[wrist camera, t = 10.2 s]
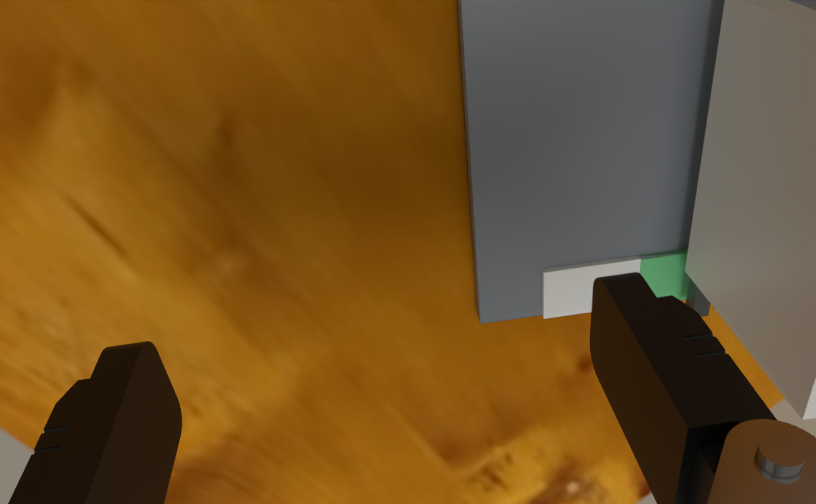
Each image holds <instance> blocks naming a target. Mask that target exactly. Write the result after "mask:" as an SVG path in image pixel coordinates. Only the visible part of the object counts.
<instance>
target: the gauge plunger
mask: <svg viewBox="0 0 816 504" xmlns="http://www.w3.org/2000/svg"><path fill="white" fill-rule="evenodd" d="M685 272H686V273H687V274H688V276H689V277H690V278H689V284H688V291H687V297H686V305H688V306H689V307H691V308H692V309H694V310H695V311H697V312H698V314H699V315H700V316H708V313H709V308H710V303H711V305H712V306H713V307H714V308H715V310H716V311H717V312H718V314H719V315H720V316H721V317H722V319H723V320H724V321H725V322H726V324H727V325H728V326H729V327H730V329H731V330H732V331H733V333H734V334H735V335H736V336H737V338H738V339H739V340H740V341H741V343H742V344H743V345H744V346H745V348H746V349H747V350H748V352H749V353H750V354H751V355H752V357H753V358H754V359H755V360H756V362H757V363H758V364H759V365H760V367H761V368H762V369H763V371H764V372H765V373H766V374H767V376H768V377H769V378H770V379H771V381H772V382H773V383H774V384H775V386H776V387H777V388H778V390H779V391H780V392H781V393H782V395H783V396H784V397H785V398H786V400H787V401H788V402H789V403H790V405H791V406H792V407H793V409H794V410H795V411H796V412H797V414H798V415H799V416H800V417H801V419H802V420H805V419H812V418H816V10H814V9H811V8H808V7H806V6H803V5H800V4H798V3H795V2H792V1H790V0H725V2H724V9H723V16H722V22H721V29H720V36H719V43H718V50H717V56H716V63H715V70H714V77H713V84H712V90H711V97H710V104H709V111H708V117H707V124H706V131H705V138H704V145H703V151H702V158H701V165H700V172H699V178H698V185H697V192H696V199H695V206H694V212H693V219H692V226H691V233H690V239H689V246H688V253H687V260H686V267H685Z"/></svg>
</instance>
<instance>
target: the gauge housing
mask: <svg viewBox="0 0 816 504" xmlns="http://www.w3.org/2000/svg"><path fill="white" fill-rule="evenodd" d="M790 1H792V2H795V3H798V4H800V5H803V6H806V7H808V8H811V9H814V10H816V0H790ZM724 2H725V0H458V16H459V32H460V48H461V64H462V80H463V96H464V112H465V128H466V143H467V159H468V175H469V191H470V207H471V223H472V239H473V255H474V270H475V286H476V302H477V314H478V317H479V320H480V324H482V323H489V322H496V321H503V320H510V319H517V318H524V317H531V316H538V315H542V316H543V319H546V318H553V317H560V316H567V315H574V314H581V313H588V312H591V311H592V294H593V284H594V280H595V279H596V278H598V277H605V276H611V275H618V274H625V273H632V272H638V273H640V274H641V275H642V276H643V277H644V279H645V280H646V282H647V283H648V285H649V286H650V288H651V289H652V291H653V292H654V294H655V295H656V297H664V296H670V295H673V296H674V297H676V298H677V299H679V300H686V297H687V291H688V284H689V278H690V277H689V276H688V274H687V273H686V272H685V267H686V260H687V253H688V246H689V239H690V233H691V226H692V219H693V212H694V206H695V199H696V192H697V185H698V178H699V172H700V165H701V158H702V151H703V145H704V138H705V131H706V124H707V117H708V111H709V104H710V97H711V90H712V84H713V77H714V70H715V63H716V56H717V50H718V43H719V36H720V29H721V22H722V16H723V9H724Z"/></svg>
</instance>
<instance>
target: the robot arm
mask: <svg viewBox="0 0 816 504" xmlns="http://www.w3.org/2000/svg"><path fill="white" fill-rule="evenodd" d="M590 352H591V358H592V363H593V366H594V370H595V373H596V375H597V377H598V380H599V382H600V384H601V386H602V388H603V390H604V392H605V394H606V396H607V399H608V401H609V403H610V405H611V407H612V409H613V411H614V413H615V416H616V418H617V420H618V422H619V424H620V426H621V428H622V430H623V432H624V435H625V437H626V439H627V441H628V443H629V445H630V447H631V449H632V452H633V454H634V456H635V458H636V460H637V462H638V464H639V466H640V468H641V471H642V473H643V475H644V477H645V479H646V481H647V483H648V485H649V488H650V490H651V492H652V494H653V496H654V498H655V500H656V502H657V504H816V438H815V437H814V436H813V435H811V434H810V433H808V432H806V431H805V430H803V429H801V428H799V427H797V426H794V425H791V424H788V423H785V422H781V421H778V420H777V419H776V418H775V417H774V415H773V414H772V413H771V411H770V410H769V409H768V407H767V406H766V404H765V403H764V402H763V400H762V399H761V398H760V396H759V395H758V394H757V392H756V391H755V390H754V388H753V387H752V385H751V384H750V383H749V381H748V380H747V379H746V377H745V376H744V375H743V373H742V372H741V371H740V369H739V368H738V367H737V365H736V364H735V362H734V361H733V360H732V358H731V357H730V356H729V354H726V353H725V349H724V348H723V346H722V345H721V343H720V342H719V341H718V339H717V338H716V337H713V335H712V331H711V330H710V329H709V327H708V326H707V324H706V323H705V322H704V320H703V319H702V318H701V316H700V315H699V314H698V312H697V311H695V310H694V309H692V308H691V307H689V306H688V305H686V304H685V303H683V302H682V301H680V300H679V299H677V298H676V297H674V296H673V295H670V296H664V297H656V295H655V294H654V292H653V291H652V289H651V288H650V286H649V285H648V283H647V282H646V280H645V279H644V277H643V276H642V275H641V274H640V273H638V272H632V273H625V274H618V275H611V276H605V277H598V278H596V279H595V280H594V284H593V294H592V311H591V329H590ZM181 430H182V415H181V408H180V404H179V401H178V398H177V396H176V394H175V391H174V389H173V386H172V384H171V382H170V379H169V377H168V375H167V372H166V370H165V368H164V365H163V363H162V361H161V358H160V356H159V354H158V351H157V349H156V347H155V346H154V344H153V343H151V342H149V341H146V342H139V343H133V344H126V345H119V346H112V347H107V348H105V349H104V350H103V351H102V353H101V355H100V357H99V359H98V362H97V364H96V366H95V369H94V371H93V373H92V375H91V378H90V379H83V380H78V381H77V382H76V383H75V384H74V385H73V386H72V387H71V388H70V389H69V390H68V391H67V392H66V394H65V395H64V396H63V397H62V398H61V399H60V400H59V401H58V402H57V403H56V404H55V407H54V409H53V411H52V413H51V415H50V417H49V419H48V421H47V423H46V425H45V428H44V434H41V436H40V438H39V440H38V442H37V444H36V446H35V449H34V451H35V453H34V455H31V457H30V459H29V461H28V463H27V465H26V467H25V470H24V472H23V474H22V476H21V478H20V480H19V482H18V484H17V486H16V488H15V491H14V493H13V495H12V497H11V499H10V501H9V503H8V504H164V501H165V497H166V493H167V489H168V485H169V481H170V477H171V473H172V469H173V465H174V461H175V457H176V453H177V449H178V445H179V441H180V437H181Z"/></svg>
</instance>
